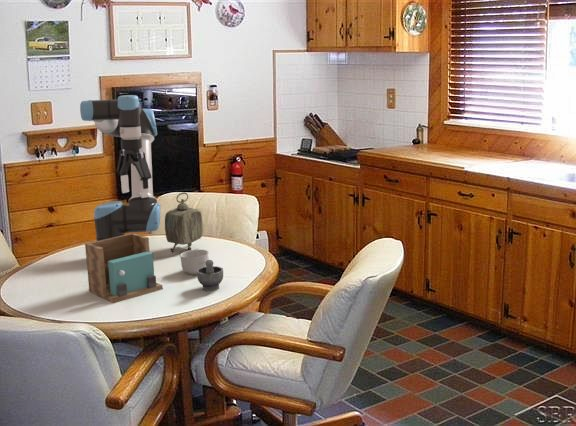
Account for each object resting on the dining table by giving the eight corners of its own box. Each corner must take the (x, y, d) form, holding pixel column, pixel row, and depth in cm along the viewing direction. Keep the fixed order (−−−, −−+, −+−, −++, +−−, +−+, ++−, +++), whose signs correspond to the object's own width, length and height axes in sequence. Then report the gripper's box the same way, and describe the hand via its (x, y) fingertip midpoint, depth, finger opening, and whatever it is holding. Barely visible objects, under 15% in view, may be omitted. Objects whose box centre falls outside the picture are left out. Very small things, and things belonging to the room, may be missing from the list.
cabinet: (89, 291, 272) (84, 243, 268) (137, 278, 285) (133, 232, 281) (113, 302, 259) (109, 252, 255) (162, 288, 273) (159, 240, 269)
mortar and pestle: (197, 284, 276) (196, 253, 273) (223, 283, 277) (222, 251, 274) (197, 294, 265) (195, 262, 263) (224, 293, 266) (222, 260, 264)
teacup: (204, 277, 285) (203, 257, 283) (177, 276, 287) (175, 256, 285) (215, 266, 298) (214, 247, 296) (189, 265, 300) (187, 246, 298)
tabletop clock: (189, 244, 330) (186, 188, 325) (205, 247, 325) (202, 190, 320) (166, 252, 319) (162, 194, 313) (182, 255, 314) (178, 197, 308)
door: (110, 293, 264) (107, 261, 262) (149, 283, 275) (147, 251, 272) (118, 297, 261) (115, 263, 258) (157, 286, 271) (154, 254, 269)
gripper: (104, 136, 283) (109, 192, 287) (140, 142, 265) (144, 201, 270) (122, 134, 288) (126, 189, 292) (158, 139, 270) (162, 197, 275)
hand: (135, 194), depth 281 cm, fingers open, 13 cm apart
